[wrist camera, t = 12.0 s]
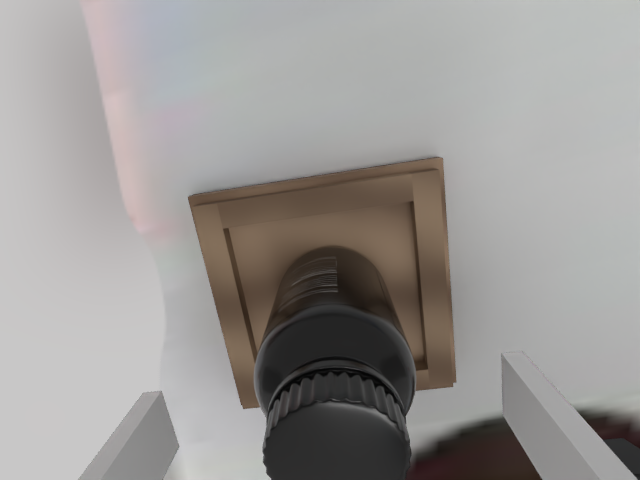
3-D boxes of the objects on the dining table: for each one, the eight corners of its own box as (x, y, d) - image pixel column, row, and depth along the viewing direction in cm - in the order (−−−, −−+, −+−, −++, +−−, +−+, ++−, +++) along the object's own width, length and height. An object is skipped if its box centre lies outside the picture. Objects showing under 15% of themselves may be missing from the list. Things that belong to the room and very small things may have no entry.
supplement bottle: (273, 334, 24) (216, 521, 12) (287, 236, 22) (235, 348, 10) (375, 350, 24) (415, 552, 12) (398, 254, 22) (471, 385, 10)
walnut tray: (451, 372, 25) (461, 392, 23) (244, 395, 26) (237, 415, 24) (437, 156, 21) (448, 159, 19) (194, 194, 22) (180, 200, 20)
